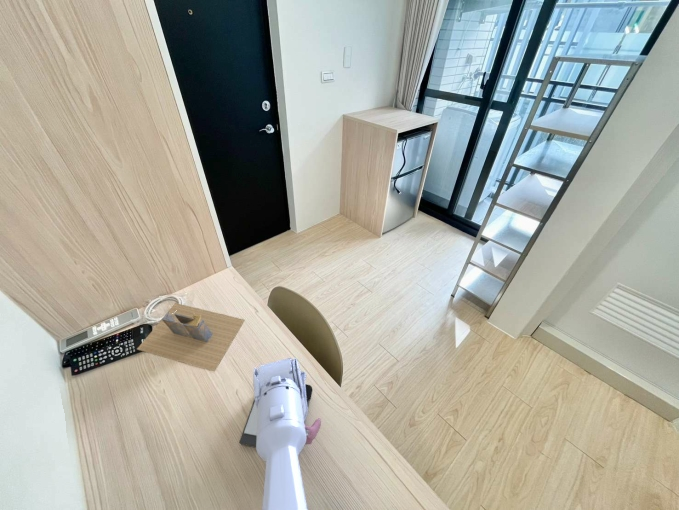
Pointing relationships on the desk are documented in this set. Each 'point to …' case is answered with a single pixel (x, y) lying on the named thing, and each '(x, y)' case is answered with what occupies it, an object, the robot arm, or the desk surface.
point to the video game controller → (312, 431)
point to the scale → (252, 428)
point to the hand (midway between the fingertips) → (296, 424)
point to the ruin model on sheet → (192, 336)
